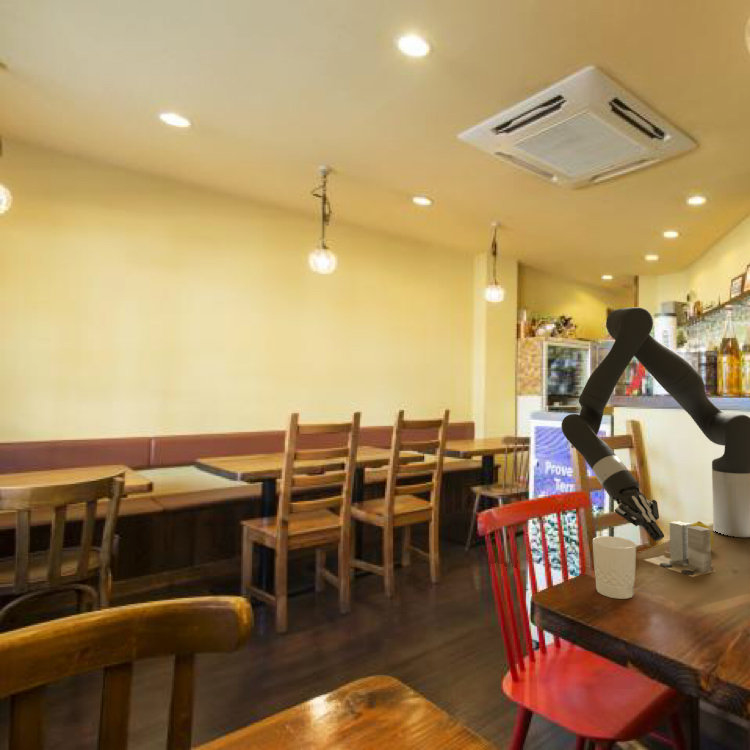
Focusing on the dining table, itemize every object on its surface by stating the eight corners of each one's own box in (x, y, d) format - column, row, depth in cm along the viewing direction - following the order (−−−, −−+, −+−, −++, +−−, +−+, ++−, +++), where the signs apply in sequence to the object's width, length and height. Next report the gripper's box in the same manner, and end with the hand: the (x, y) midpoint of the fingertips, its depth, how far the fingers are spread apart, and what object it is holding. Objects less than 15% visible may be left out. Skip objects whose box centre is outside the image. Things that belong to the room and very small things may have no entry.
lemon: (712, 559, 121) (712, 525, 122) (685, 555, 125) (684, 522, 125) (714, 553, 126) (714, 520, 126) (688, 549, 129) (687, 517, 129)
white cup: (599, 581, 108) (599, 533, 108) (641, 591, 103) (640, 540, 103) (588, 593, 102) (587, 542, 102) (631, 604, 97) (630, 550, 97)
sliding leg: (679, 560, 117) (678, 520, 117) (692, 564, 114) (691, 524, 114) (664, 563, 115) (664, 523, 115) (677, 567, 112) (676, 526, 112)
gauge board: (665, 560, 121) (664, 516, 121) (715, 576, 110) (714, 528, 111) (642, 565, 118) (641, 520, 118) (691, 582, 107) (690, 533, 108)
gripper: (604, 470, 126) (650, 533, 115) (642, 467, 132) (689, 527, 120) (587, 488, 131) (630, 551, 119) (624, 484, 136) (668, 543, 125)
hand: (659, 538), depth 120 cm, fingers closed
